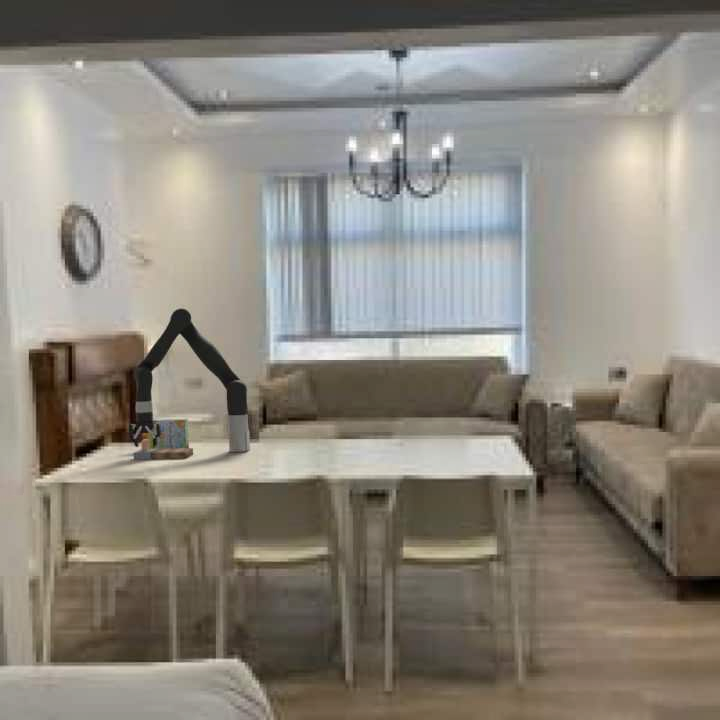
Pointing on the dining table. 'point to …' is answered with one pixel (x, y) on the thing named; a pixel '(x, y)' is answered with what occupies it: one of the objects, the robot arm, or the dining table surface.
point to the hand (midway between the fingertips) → (145, 446)
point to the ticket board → (172, 453)
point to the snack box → (170, 434)
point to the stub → (144, 450)
